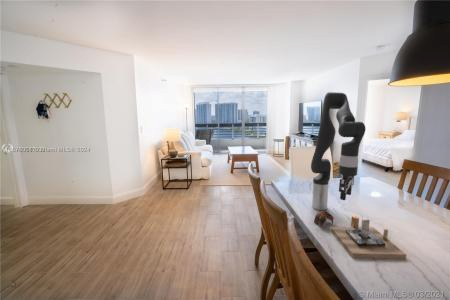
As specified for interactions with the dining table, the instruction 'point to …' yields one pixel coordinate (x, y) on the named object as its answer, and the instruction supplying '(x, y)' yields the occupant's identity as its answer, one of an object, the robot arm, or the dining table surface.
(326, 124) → the robot arm
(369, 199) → the dining table surface
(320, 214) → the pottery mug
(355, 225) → the knobbed grey plate
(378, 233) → the post base
